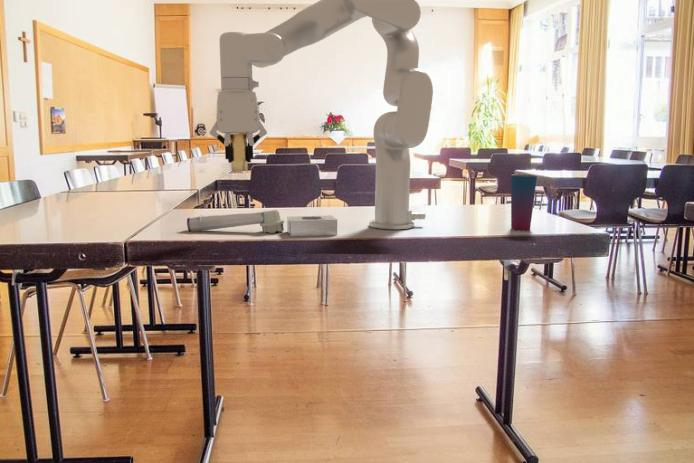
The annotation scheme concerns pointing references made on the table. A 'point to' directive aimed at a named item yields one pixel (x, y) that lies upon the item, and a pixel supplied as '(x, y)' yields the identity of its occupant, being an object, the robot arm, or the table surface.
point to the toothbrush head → (238, 221)
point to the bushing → (239, 152)
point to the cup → (522, 200)
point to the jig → (311, 225)
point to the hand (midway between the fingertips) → (239, 161)
